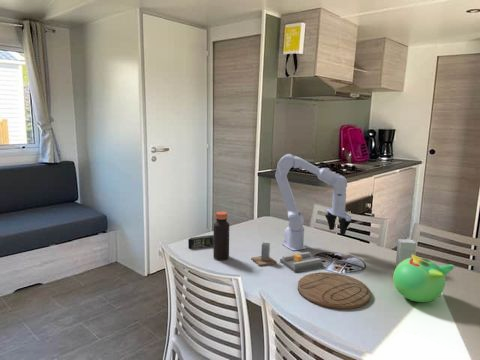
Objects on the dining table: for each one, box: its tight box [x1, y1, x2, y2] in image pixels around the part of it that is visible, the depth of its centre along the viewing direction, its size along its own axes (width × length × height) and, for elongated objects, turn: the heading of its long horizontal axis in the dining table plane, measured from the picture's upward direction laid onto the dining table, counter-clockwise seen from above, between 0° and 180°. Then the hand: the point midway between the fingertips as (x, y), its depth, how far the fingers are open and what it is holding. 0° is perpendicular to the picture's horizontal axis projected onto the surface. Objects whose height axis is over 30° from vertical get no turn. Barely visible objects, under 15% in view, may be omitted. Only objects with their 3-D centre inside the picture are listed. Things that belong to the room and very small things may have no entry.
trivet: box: [297, 271, 371, 311], centre depth 130 cm, size 25×25×2 cm
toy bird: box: [392, 254, 455, 303], centre depth 125 cm, size 18×17×15 cm
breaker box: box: [279, 251, 324, 273], centre depth 153 cm, size 14×11×3 cm
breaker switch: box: [294, 253, 302, 262], centre depth 152 cm, size 2×3×2 cm, turn 25°
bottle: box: [213, 211, 230, 261], centre depth 158 cm, size 7×7×20 cm
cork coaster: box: [250, 255, 278, 267], centre depth 156 cm, size 8×8×1 cm
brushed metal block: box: [261, 242, 271, 261], centre depth 155 cm, size 3×3×7 cm
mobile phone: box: [187, 234, 214, 249], centre depth 173 cm, size 5×3×15 cm
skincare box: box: [395, 238, 417, 268], centre depth 150 cm, size 6×4×12 cm
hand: (337, 232), depth 167 cm, fingers open, 7 cm apart
